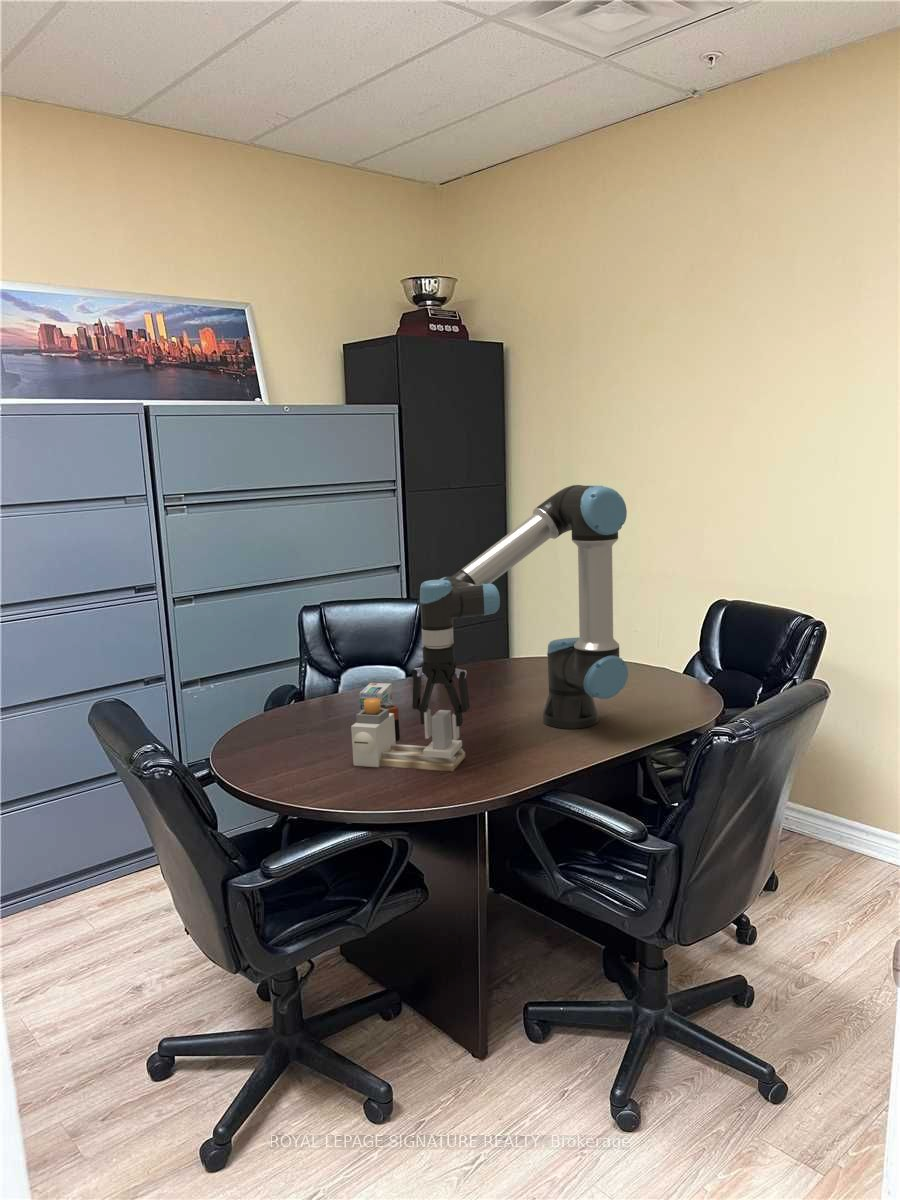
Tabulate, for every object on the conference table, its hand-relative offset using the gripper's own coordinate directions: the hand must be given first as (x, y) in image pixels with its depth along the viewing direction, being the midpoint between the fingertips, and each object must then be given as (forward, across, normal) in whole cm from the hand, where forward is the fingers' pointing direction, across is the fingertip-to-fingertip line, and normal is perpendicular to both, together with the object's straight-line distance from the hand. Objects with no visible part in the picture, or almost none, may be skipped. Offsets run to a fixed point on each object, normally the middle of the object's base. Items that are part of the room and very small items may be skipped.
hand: (442, 737), depth 222 cm
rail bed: (+6, +5, 0) cm, 8 cm away
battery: (+7, +21, -15) cm, 27 cm away
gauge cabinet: (+6, +18, 0) cm, 19 cm away
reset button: (-6, +18, 0) cm, 19 cm away
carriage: (+3, 0, 0) cm, 3 cm away
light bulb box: (+7, +28, -26) cm, 39 cm away
